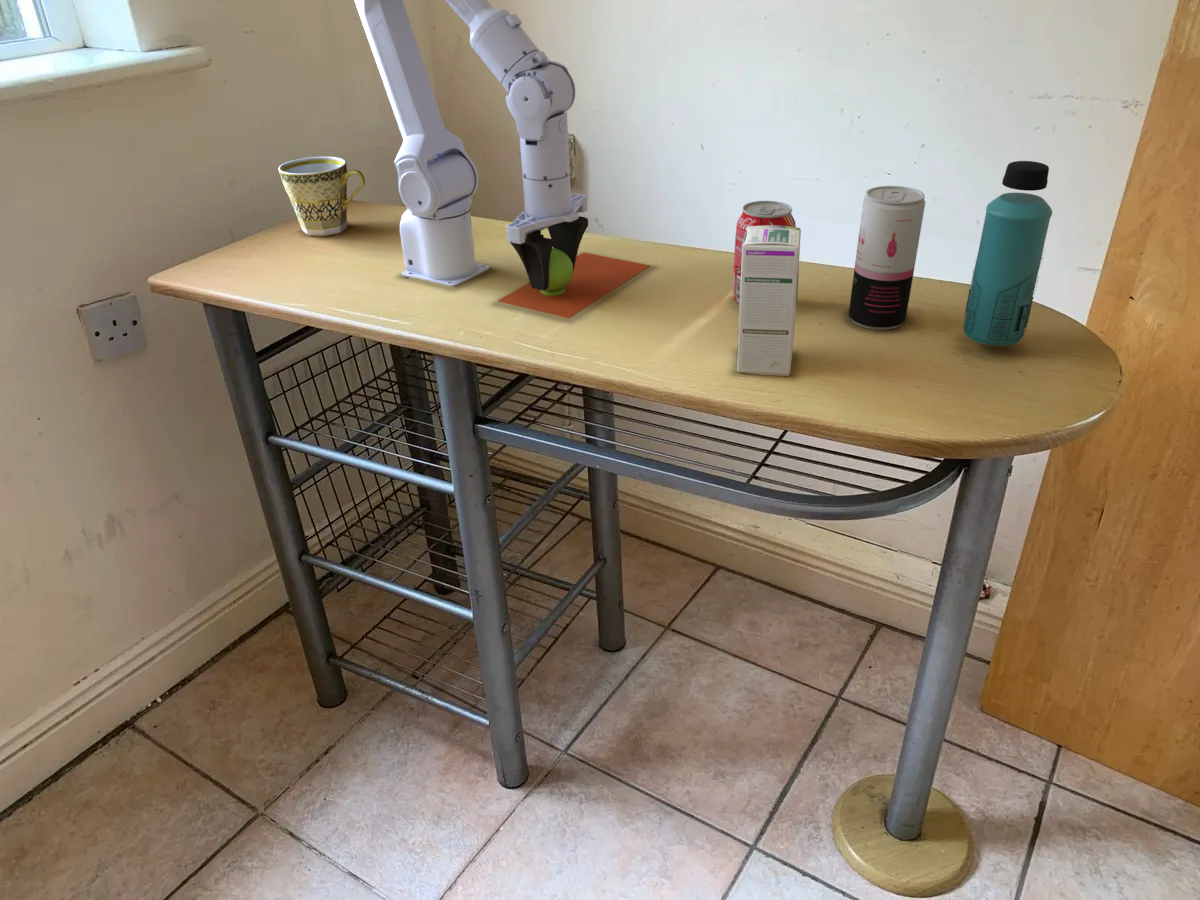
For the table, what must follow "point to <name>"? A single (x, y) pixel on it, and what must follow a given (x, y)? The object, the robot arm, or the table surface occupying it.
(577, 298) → the cloth
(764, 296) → the syrup box
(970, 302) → the beverage bottle
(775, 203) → the soda can
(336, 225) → the ceramic cup
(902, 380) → the table surface
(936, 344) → the table surface
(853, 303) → the beverage can
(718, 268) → the table surface
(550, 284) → the apple
